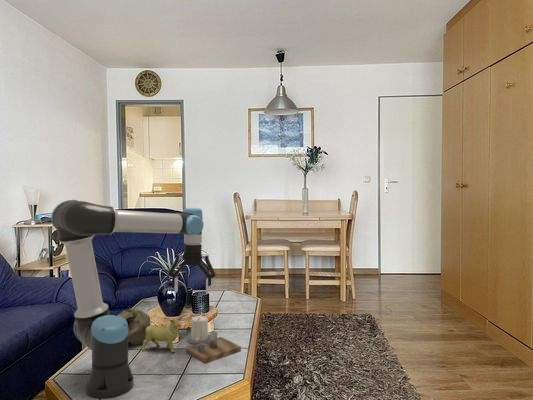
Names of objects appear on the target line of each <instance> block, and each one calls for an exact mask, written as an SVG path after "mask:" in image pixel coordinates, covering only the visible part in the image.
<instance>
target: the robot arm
mask: <svg viewBox="0 0 533 400" xmlns="http://www.w3.org/2000/svg"><path fill="white" fill-rule="evenodd" d="M50 219H51V223H52V225H53V227H54V228H55V229H56V231H57V236H58V241H59V243H61V244H62V245H64V246H65V250H66V255H67V256H66V257H67V261H68V266H69V271H70V276H71V281H72V288H73V290H74V292H73V293H74V295H75V296H74V297H75V301H76V302H75V303H76V307H77V310H76V311H75V312H74V314H73V317H74V323H73V332H74V335H75V337H76V339H77V340H78V341H79V342H81V344H84V345H85V346H86V347H87V348H88V349H89V350H91V369H90V370H91V371H90V373H89V376H88V379H87V382H86V393H87V395H88V396H90V397H92V398H97V399H107V398H108V399H109V398H114V397H117V396H121V395H123V394H125V393H127V392H129V391H130V390H131V389H132V388H133V387H134V374H133V372H132V370H131V367H130V364H129V341H128V324H127V321H126V320H125V319H124V318H123V317H120V316H117V315H114V314H110V310H109V304H108V303H105V302H104V300H103V296H102V289H101V284H100V278H99V275H98V273H99V272H98V269H97V263H96V259H95V257H96V256H95V253H94V246H93V242H92V240H93V238H94V237H95V236H97V235H98V236H99V235H100V236H102V235H106V236H108V235H109V236H111V235H112V234H114V233H146V234H147V233H149V234H151V233H152V234H178V235H179V234H180V235H183V236H184V237H183V244H184V245H183V254H180V253H178V254H176V255H175V261H174V262H173V263H172V266H171V268H170V270H169V271H168V274H167V275H168V277H171V282H172V285H173V286H174V291H173V293H174V294H177V293H178V290H179V289H178V287H179V285H178V284H179V276H178V275H179V273H180V272H182V270H183V269H184V267H186V266H194V267H195V266H197V267H199V268H200V270H201V271H202V272H203V274H204V275H205V276H206V277H207V278H205V279H206V280H205V295H208V294H209V293H210V288H209V287H211V285H212V278H215V277H216V275H217V274H216V272H215V270H214V268H213V265H212V263H211V261H210V256H209V254H206V255H202V247H203V246H202V243H203V237H202V236H203V229H204V224H205V223H204V221H203V210H202V209H201V207H200V208H199V207H186V208H185V209H184V212H166V213H165V212H154V211H153V212H152V211H137V210H123V209H122V210H121V209H115V207H114V206H109V205H101V204H98V203H97V204H96V203H94V202H93V203H92V202H89V201H83V200H76V199H68V200H63V201H61V202H60V203H58V204H57V205H56V206H55V207H54V208H53V210H52V213H51V218H50ZM182 259H183V262H182V264H181V265H180V266H179V267H178V268H177V266H178V264H179V262H180V260H182ZM202 260H203V261H205V264H206V266H207V268H208V269H209V271H208V269H207V268H206V267H205V266H204V264H203V262H202ZM176 268H177V270H175V269H176ZM174 271H175V272H174Z"/></svg>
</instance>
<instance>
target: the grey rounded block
mask: <svg viewBox="0 0 533 400" xmlns="http://www.w3.org/2000/svg"><path fill="white" fill-rule="evenodd" d="M190 321H191V322H190V336H191V339H192V340H194V341H196V342H198V341H203V340H206V339H207V338H208V335H209V333H208V332H209V331H208V330H209V329H208V328H209V320H208V317H207V316H205V315H197V316H192V318H191V320H190Z"/></svg>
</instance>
